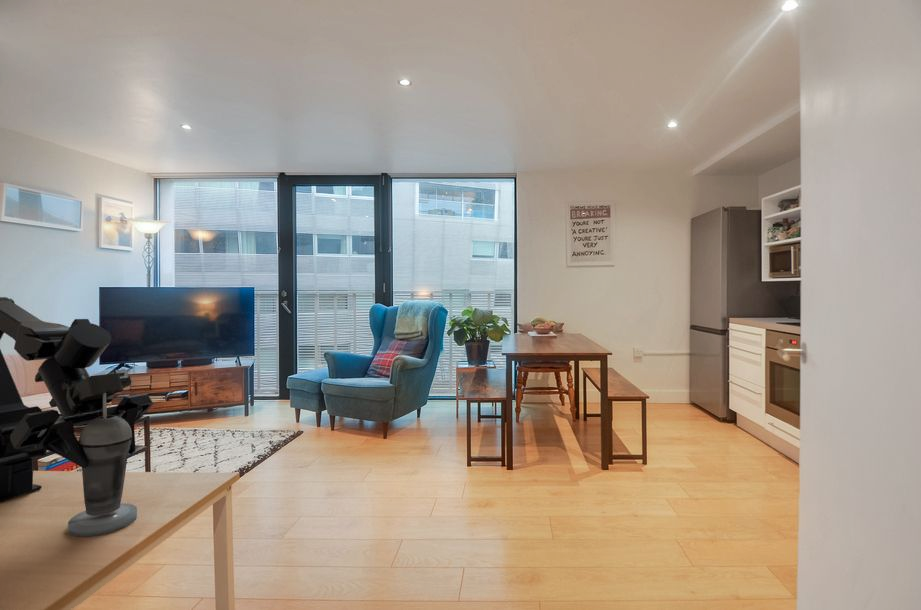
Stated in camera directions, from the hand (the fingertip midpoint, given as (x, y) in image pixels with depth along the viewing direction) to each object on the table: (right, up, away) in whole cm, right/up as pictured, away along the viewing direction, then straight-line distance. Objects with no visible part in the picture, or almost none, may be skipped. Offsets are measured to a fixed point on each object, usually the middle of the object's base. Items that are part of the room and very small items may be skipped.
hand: (110, 459), depth 74 cm
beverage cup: (-2, -9, +1) cm, 9 cm away
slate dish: (-2, -11, 0) cm, 11 cm away
